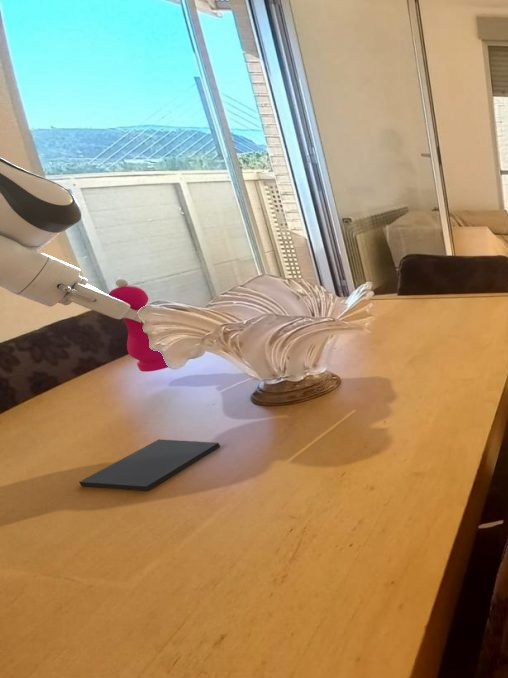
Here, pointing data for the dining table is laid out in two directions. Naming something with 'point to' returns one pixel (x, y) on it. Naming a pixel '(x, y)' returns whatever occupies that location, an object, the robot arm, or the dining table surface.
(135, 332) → the pepper mill
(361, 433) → the dining table surface
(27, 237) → the robot arm
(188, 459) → the slate mat
